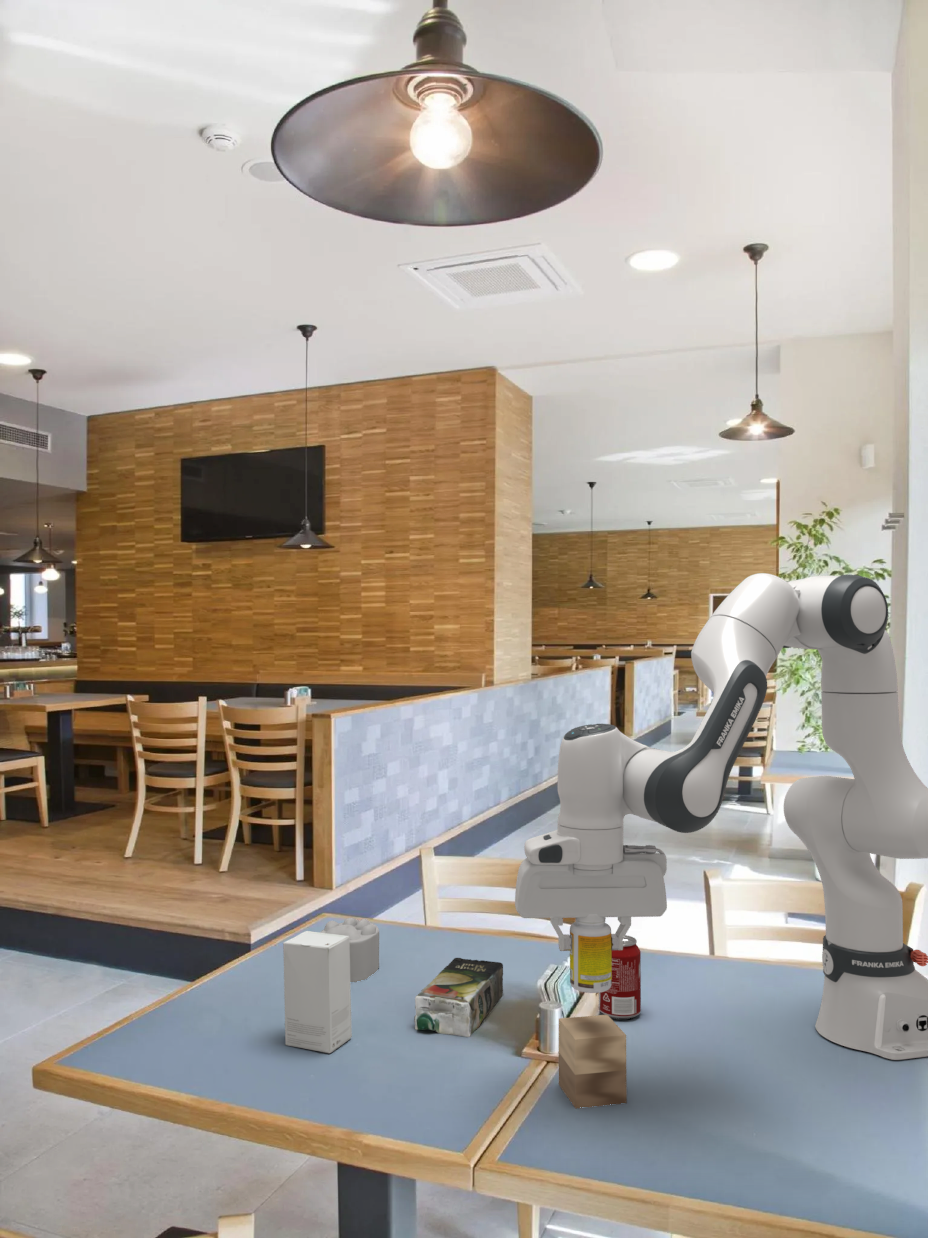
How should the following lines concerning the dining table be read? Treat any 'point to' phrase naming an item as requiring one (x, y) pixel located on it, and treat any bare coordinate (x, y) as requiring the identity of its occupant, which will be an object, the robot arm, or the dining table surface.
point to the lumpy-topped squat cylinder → (359, 945)
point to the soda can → (623, 983)
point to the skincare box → (317, 991)
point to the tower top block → (592, 1044)
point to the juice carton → (459, 997)
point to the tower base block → (592, 1086)
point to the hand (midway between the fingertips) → (590, 949)
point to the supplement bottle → (590, 954)
